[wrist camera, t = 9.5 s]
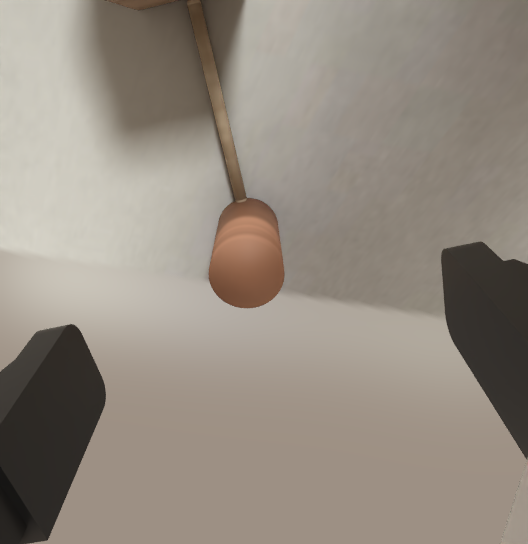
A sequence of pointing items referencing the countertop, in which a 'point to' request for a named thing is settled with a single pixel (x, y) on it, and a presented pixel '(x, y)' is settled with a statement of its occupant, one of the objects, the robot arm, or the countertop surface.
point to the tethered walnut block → (243, 211)
